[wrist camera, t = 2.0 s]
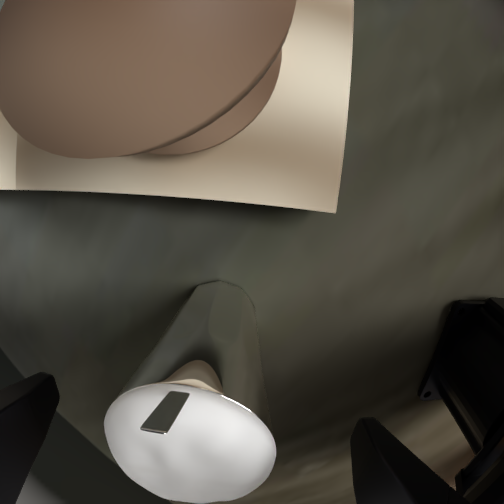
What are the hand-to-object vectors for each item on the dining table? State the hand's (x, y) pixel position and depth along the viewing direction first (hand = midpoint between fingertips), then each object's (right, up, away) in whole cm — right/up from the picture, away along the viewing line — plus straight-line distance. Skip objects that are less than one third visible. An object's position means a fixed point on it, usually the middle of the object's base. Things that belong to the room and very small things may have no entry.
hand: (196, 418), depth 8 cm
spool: (-1, +11, +2) cm, 11 cm away
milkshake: (0, +2, +7) cm, 7 cm away
